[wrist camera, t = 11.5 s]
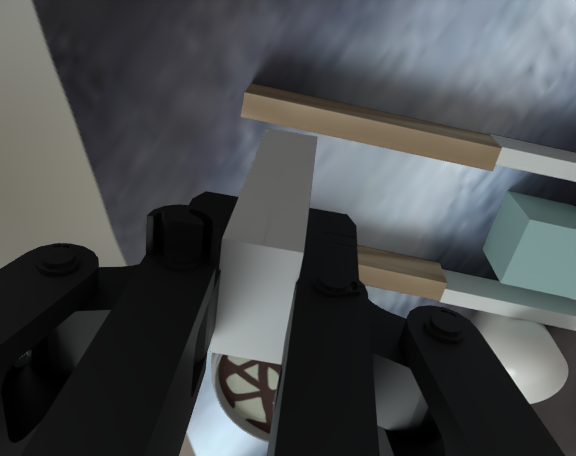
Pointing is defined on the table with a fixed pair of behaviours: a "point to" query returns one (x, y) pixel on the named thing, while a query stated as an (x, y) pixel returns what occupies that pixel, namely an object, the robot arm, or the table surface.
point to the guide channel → (388, 134)
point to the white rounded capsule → (524, 353)
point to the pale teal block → (534, 244)
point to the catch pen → (509, 297)
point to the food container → (246, 392)
